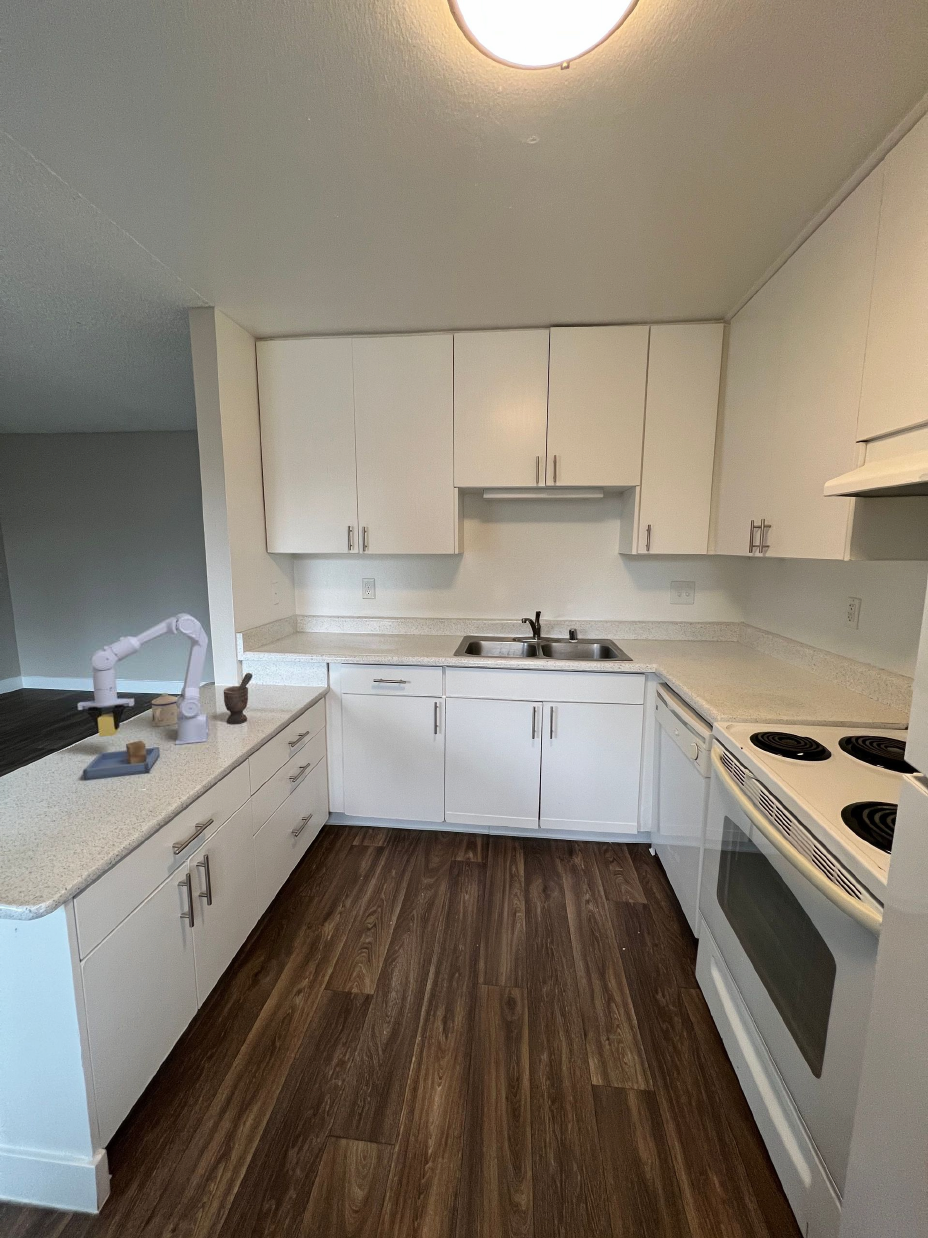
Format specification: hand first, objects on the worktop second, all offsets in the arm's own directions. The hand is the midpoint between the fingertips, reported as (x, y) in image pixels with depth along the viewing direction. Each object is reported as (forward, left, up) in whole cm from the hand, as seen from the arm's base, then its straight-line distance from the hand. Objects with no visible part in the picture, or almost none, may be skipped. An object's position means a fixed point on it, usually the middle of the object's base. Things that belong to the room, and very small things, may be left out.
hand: (108, 729), depth 154 cm
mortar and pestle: (-36, -22, -9) cm, 44 cm away
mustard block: (0, 0, -2) cm, 2 cm away
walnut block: (-10, +12, -8) cm, 17 cm away
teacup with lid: (-9, -27, -9) cm, 30 cm away
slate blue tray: (-7, +12, -9) cm, 16 cm away
